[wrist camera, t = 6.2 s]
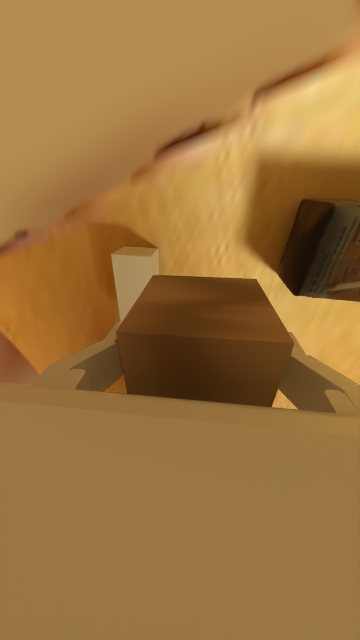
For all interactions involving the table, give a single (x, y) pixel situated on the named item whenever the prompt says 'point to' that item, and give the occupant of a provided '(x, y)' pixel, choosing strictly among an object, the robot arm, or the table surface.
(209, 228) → the table surface
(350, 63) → the table surface
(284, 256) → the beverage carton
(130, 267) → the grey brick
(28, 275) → the table surface
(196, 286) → the walnut cube
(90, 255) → the table surface
